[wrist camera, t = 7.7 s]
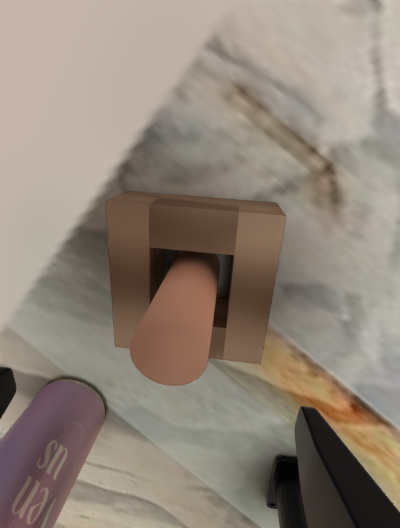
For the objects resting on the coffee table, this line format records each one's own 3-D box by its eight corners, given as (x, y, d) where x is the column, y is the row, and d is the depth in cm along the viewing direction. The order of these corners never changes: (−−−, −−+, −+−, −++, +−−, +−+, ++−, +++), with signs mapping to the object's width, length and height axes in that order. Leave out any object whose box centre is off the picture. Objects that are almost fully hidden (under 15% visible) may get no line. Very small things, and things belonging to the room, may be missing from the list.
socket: (256, 330, 20) (260, 364, 17) (133, 316, 21) (115, 346, 18) (276, 202, 17) (286, 215, 14) (128, 191, 18) (105, 201, 15)
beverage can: (29, 389, 25) (-217, 678, 12) (79, 365, 24) (-141, 671, 10) (72, 433, 27) (-99, 734, 13) (122, 414, 25) (-16, 738, 11)
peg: (218, 287, 20) (205, 390, 11) (174, 283, 20) (131, 380, 12) (221, 245, 18) (211, 325, 10) (175, 241, 19) (128, 316, 10)
